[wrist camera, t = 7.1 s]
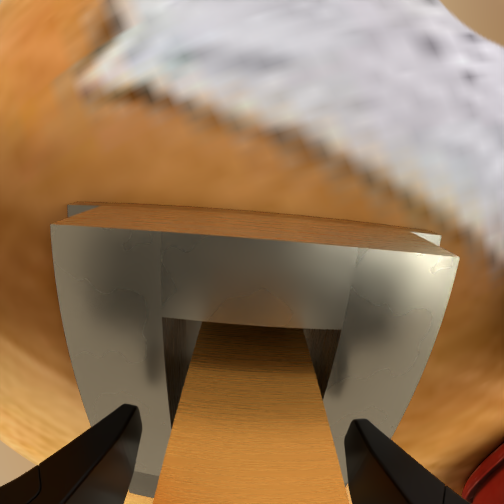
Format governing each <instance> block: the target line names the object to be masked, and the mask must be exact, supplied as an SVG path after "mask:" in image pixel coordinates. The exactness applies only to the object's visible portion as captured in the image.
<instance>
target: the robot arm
mask: <svg viewBox="0 0 504 504" xmlns="http://www.w3.org/2000/svg"><path fill="white" fill-rule="evenodd" d="M141 434H142V421H141V416H140V411H139V408H138V406H136V405H131V404H126V403H125V404H122V405H121V406H119V407H118V408H117V409H115V410H114V411H113V412H111V413H110V414H109V415H107V416H106V417H105V418H103V419H102V420H101V421H99V422H98V423H96V424H95V425H94V426H92V427H91V428H90V429H88V430H87V431H85V432H84V433H83V434H81V435H80V436H78V437H77V438H76V439H74V440H73V441H71V442H70V443H69V444H67V445H66V446H64V447H63V448H61V449H60V450H59V451H57V452H56V453H54V454H53V455H51V456H50V457H48V458H47V459H46V460H44V461H43V462H41V463H40V464H39V465H37V466H35V467H34V468H32V469H31V470H29V471H28V472H26V473H24V474H23V475H21V476H20V477H18V478H16V479H14V480H13V481H11V482H9V483H7V484H5V485H3V486H1V487H0V504H123V503H124V500H125V497H126V495H127V492H128V489H129V486H130V483H131V480H132V476H133V473H134V468H135V463H136V458H137V453H138V449H139V444H140V439H141ZM344 448H345V457H346V467H347V477H348V486H349V491H350V495H351V500H352V504H471V503H469V502H468V501H466V500H465V499H464V498H462V497H461V496H459V495H458V494H457V493H455V492H454V491H453V490H452V489H450V488H449V487H448V486H445V484H444V483H443V482H441V481H440V480H439V479H438V478H436V477H435V476H434V475H433V474H432V473H430V472H429V471H428V470H427V469H425V468H424V467H423V466H422V465H421V464H419V463H418V462H417V461H416V460H415V459H413V458H412V457H411V456H410V455H409V454H407V453H406V452H405V451H404V450H403V449H402V448H400V447H399V446H398V445H397V444H396V443H395V442H393V441H392V440H391V439H390V438H389V437H388V436H386V435H385V434H384V433H383V432H382V431H381V430H379V429H378V428H377V427H376V426H375V425H374V424H373V423H371V422H370V421H369V420H368V419H366V418H361V419H353V420H352V421H351V423H350V426H349V428H348V431H347V433H346V435H345V438H344Z"/></svg>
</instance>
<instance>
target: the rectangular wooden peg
mask: <svg viewBox="0 0 504 504" xmlns="http://www.w3.org/2000/svg"><path fill="white" fill-rule="evenodd" d="M153 504H349V501H348V497H347V493H346V489H345V485H344V481H343V477H342V473H341V469H340V465H339V461H338V457H337V453H336V449H335V445H334V441H333V437H332V434H331V430H330V426H329V422H328V418H327V415H326V411H325V407H324V403H323V400H322V396H321V392H320V389H319V385H318V381H317V378H316V374H315V371H314V367H313V363H312V360H311V356H310V353H309V349H308V346H307V342H306V339H305V335H304V332H303V328H285V327H268V326H253V325H240V324H227V323H216V322H205V321H202V324H201V327H200V331H199V334H198V337H197V341H196V344H195V348H194V351H193V355H192V358H191V362H190V365H189V369H188V372H187V376H186V379H185V383H184V386H183V390H182V394H181V397H180V401H179V405H178V408H177V412H176V415H175V419H174V423H173V427H172V430H171V434H170V438H169V442H168V445H167V449H166V453H165V457H164V461H163V465H162V469H161V472H160V476H159V480H158V484H157V488H156V492H155V496H154V501H153Z"/></svg>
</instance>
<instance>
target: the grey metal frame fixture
mask: <svg viewBox="0 0 504 504" xmlns="http://www.w3.org/2000/svg"><path fill="white" fill-rule="evenodd" d="M67 206H68V218H65V219H63V220H60V221H57V222H55V223H52V224H50V228H51V243H52V254H53V264H54V272H55V280H56V287H57V294H58V300H59V306H60V312H61V318H62V323H63V328H64V333H65V337H66V342H67V346H68V351H69V355H70V359H71V363H72V367H73V370H74V374H75V378H76V381H77V385H78V388H79V392H80V395H81V398H82V401H83V404H84V407H85V410H86V413H87V416H88V419H89V422H90V425H91V427H92V426H94V425H95V424H96V423H98V422H99V421H101V420H102V419H103V418H105V417H106V416H107V415H109V414H110V413H111V412H113V411H114V410H115V409H117V408H118V407H119V406H121V405H122V404H125V403H126V404H131V405H136V406H138V408H139V411H140V416H141V421H142V434H141V439H140V444H139V449H138V453H137V458H136V463H135V468H134V473H133V476H132V480H131V483H130V486H129V492H130V493H133V494H138V495H142V496H147V497H151V498H154V496H155V492H156V488H157V484H158V480H159V476H160V472H161V469H162V465H163V461H164V457H165V453H166V449H167V445H168V442H169V438H170V434H171V430H172V427H173V423H174V419H175V415H176V412H177V408H178V405H179V401H180V397H181V394H182V390H183V386H184V383H185V379H186V376H187V372H188V369H189V365H190V362H191V358H192V355H193V351H194V348H195V344H196V341H197V337H198V334H199V331H200V327H201V324H202V321H205V322H216V323H227V324H240V325H253V326H268V327H285V328H303V332H304V335H305V339H306V342H307V346H308V349H309V353H310V356H311V360H312V363H313V367H314V371H315V374H316V378H317V381H318V385H319V389H320V392H321V396H322V400H323V403H324V407H325V411H326V415H327V418H328V422H329V426H330V430H331V434H332V437H333V441H334V445H335V449H336V453H337V457H338V461H339V465H340V469H341V473H342V477H343V481H344V485H345V487H346V485H347V483H348V477H347V467H346V457H345V448H344V438H345V435H346V433H347V431H348V428H349V426H350V423H351V421H352V420H353V419H361V418H366V419H368V420H369V421H370V422H371V423H373V424H374V425H375V426H376V427H377V428H378V429H379V430H381V431H382V432H383V433H384V434H385V435H386V436H388V437H389V438H390V439H391V437H392V436H393V434H394V432H395V430H396V428H397V426H398V424H399V422H400V420H401V419H402V417H403V415H404V413H405V411H406V408H407V406H408V404H409V402H410V400H411V398H412V396H413V394H414V392H415V389H416V387H417V385H418V383H419V380H420V378H421V376H422V373H423V371H424V368H425V366H426V363H427V361H428V358H429V356H430V353H431V351H432V348H433V345H434V343H435V340H436V337H437V334H438V331H439V329H440V326H441V323H442V320H443V317H444V313H445V310H446V307H447V304H448V300H449V297H450V293H451V290H452V286H453V283H454V279H455V275H456V271H457V267H458V263H459V259H460V257H458V256H456V255H454V254H452V253H451V252H449V251H447V250H445V249H443V248H441V247H439V246H440V241H441V235H439V234H437V233H435V232H432V231H428V230H420V229H413V228H406V227H398V226H390V225H382V224H374V223H365V222H357V221H348V220H339V219H330V218H320V217H310V216H300V215H290V214H279V213H267V212H256V211H243V210H230V209H217V208H202V207H187V206H170V205H151V204H129V203H104V202H75V203H72V204H68V205H67Z"/></svg>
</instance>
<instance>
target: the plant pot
mask: <svg viewBox="0 0 504 504" xmlns="http://www.w3.org/2000/svg"><path fill="white" fill-rule="evenodd" d="M462 498H464V499H465V500H466V501H468V502H469V503H471V504H504V443H503V444H502V445H500V446H499V447H498V448H497V449H496V450H495V451H494V452H492V453H491V454H490V455H489V456H488V457H487V458H486V459H485V460H484V461H483V462H482V463H481V464H480V465H479V466H478V467H477V469H476V470H475V471H474V472H473V474H472V475H471V476H470V477H469V479H468V481H467V482H466V484H465V486H464V489H463V492H462Z"/></svg>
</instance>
